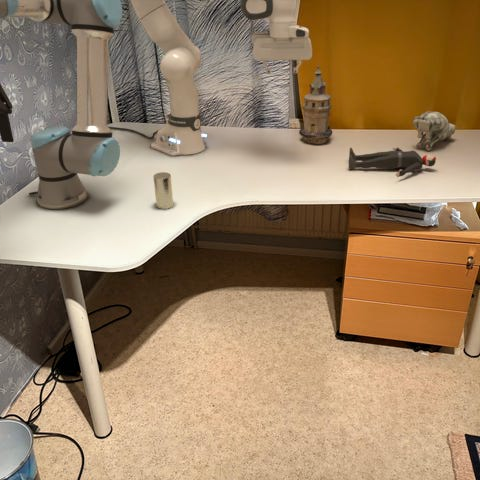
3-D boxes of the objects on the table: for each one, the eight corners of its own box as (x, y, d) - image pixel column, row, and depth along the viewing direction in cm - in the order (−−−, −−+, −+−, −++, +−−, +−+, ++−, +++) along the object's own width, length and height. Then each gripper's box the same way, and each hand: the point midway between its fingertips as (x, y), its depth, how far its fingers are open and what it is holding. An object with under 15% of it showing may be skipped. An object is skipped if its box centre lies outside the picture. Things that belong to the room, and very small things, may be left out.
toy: (350, 139, 204) (432, 140, 198) (349, 155, 207) (431, 156, 201) (348, 164, 182) (441, 166, 176) (347, 181, 185) (438, 183, 179)
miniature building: (320, 132, 228) (325, 59, 214) (338, 142, 217) (344, 66, 203) (293, 137, 224) (296, 63, 209) (310, 147, 213) (314, 69, 198)
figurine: (442, 162, 206) (466, 135, 215) (430, 119, 197) (456, 92, 206) (420, 162, 213) (444, 135, 222) (407, 120, 205) (433, 94, 213)
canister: (154, 208, 167) (151, 178, 162) (159, 201, 171) (156, 171, 166) (170, 209, 166) (167, 179, 161) (175, 202, 170) (172, 172, 165)
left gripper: (-53, 68, 102) (-25, 172, 112) (15, 45, 123) (33, 134, 134) (-89, 67, 103) (-57, 170, 114) (-15, 45, 125) (6, 133, 135)
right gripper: (250, 32, 176) (251, 75, 183) (313, 31, 175) (311, 75, 182) (251, 29, 182) (252, 71, 189) (312, 28, 180) (310, 70, 187)
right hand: (282, 73), depth 185 cm, fingers open, 8 cm apart
